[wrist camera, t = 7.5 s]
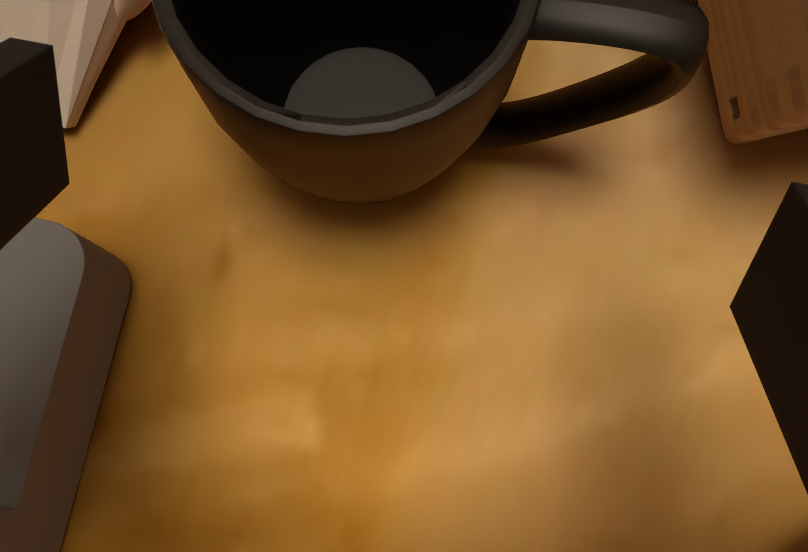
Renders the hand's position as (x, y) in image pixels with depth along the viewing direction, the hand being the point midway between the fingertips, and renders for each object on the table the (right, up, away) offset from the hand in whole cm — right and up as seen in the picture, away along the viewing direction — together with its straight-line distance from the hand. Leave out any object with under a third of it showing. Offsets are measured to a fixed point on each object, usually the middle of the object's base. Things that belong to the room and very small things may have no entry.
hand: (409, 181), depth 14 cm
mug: (0, +3, +11) cm, 11 cm away
